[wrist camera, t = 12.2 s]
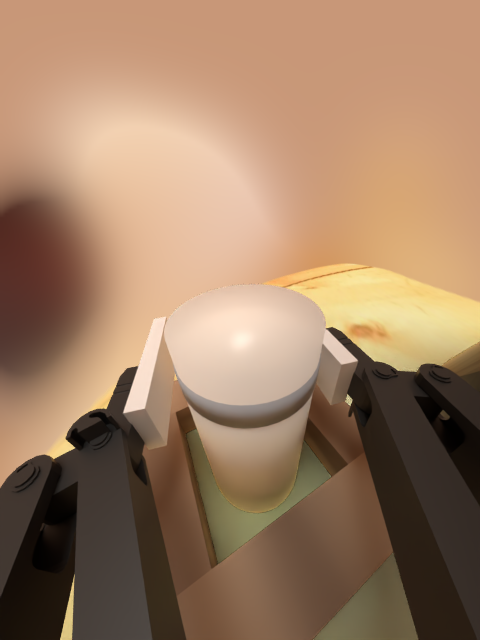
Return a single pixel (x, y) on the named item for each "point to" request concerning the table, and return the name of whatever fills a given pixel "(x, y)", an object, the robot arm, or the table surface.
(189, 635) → the cradle
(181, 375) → the white cylinder
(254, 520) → the table surface
